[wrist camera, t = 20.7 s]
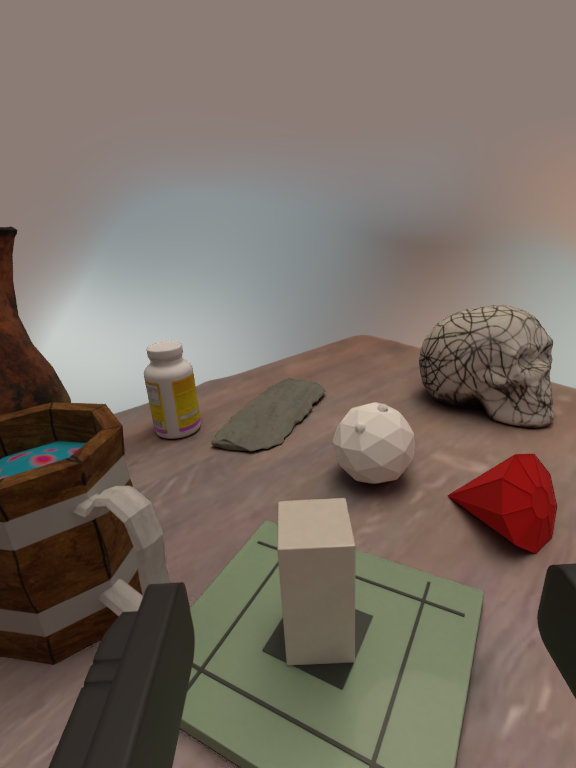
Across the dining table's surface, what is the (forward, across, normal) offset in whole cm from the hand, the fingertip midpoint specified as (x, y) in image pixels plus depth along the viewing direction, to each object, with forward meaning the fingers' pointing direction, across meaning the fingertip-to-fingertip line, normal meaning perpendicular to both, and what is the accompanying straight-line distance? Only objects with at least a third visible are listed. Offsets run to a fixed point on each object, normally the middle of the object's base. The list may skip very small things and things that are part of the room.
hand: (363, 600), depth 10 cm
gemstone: (+28, -17, +22) cm, 39 cm away
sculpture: (+54, -26, +22) cm, 64 cm away
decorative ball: (+36, -8, +22) cm, 43 cm away
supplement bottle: (+50, +19, +22) cm, 58 cm away
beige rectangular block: (+15, +1, +20) cm, 26 cm away
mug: (+20, +19, +22) cm, 35 cm away
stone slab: (+53, +5, +22) cm, 58 cm away
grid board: (+15, +1, +22) cm, 27 cm away
